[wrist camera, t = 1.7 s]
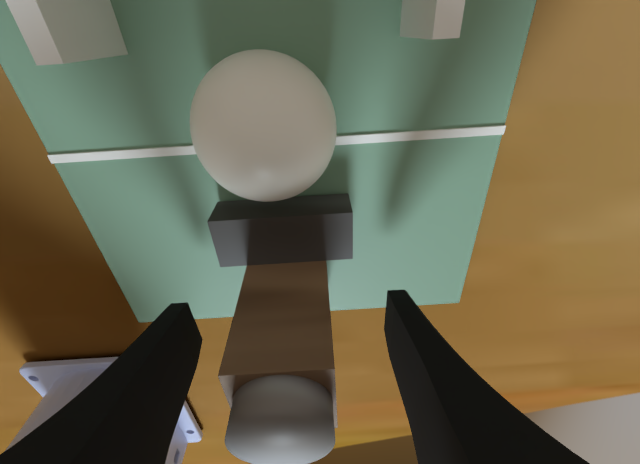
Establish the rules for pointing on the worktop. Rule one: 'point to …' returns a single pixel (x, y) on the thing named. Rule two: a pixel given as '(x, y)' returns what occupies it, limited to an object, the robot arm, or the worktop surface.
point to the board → (345, 164)
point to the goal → (106, 41)
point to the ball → (263, 125)
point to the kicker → (281, 324)
